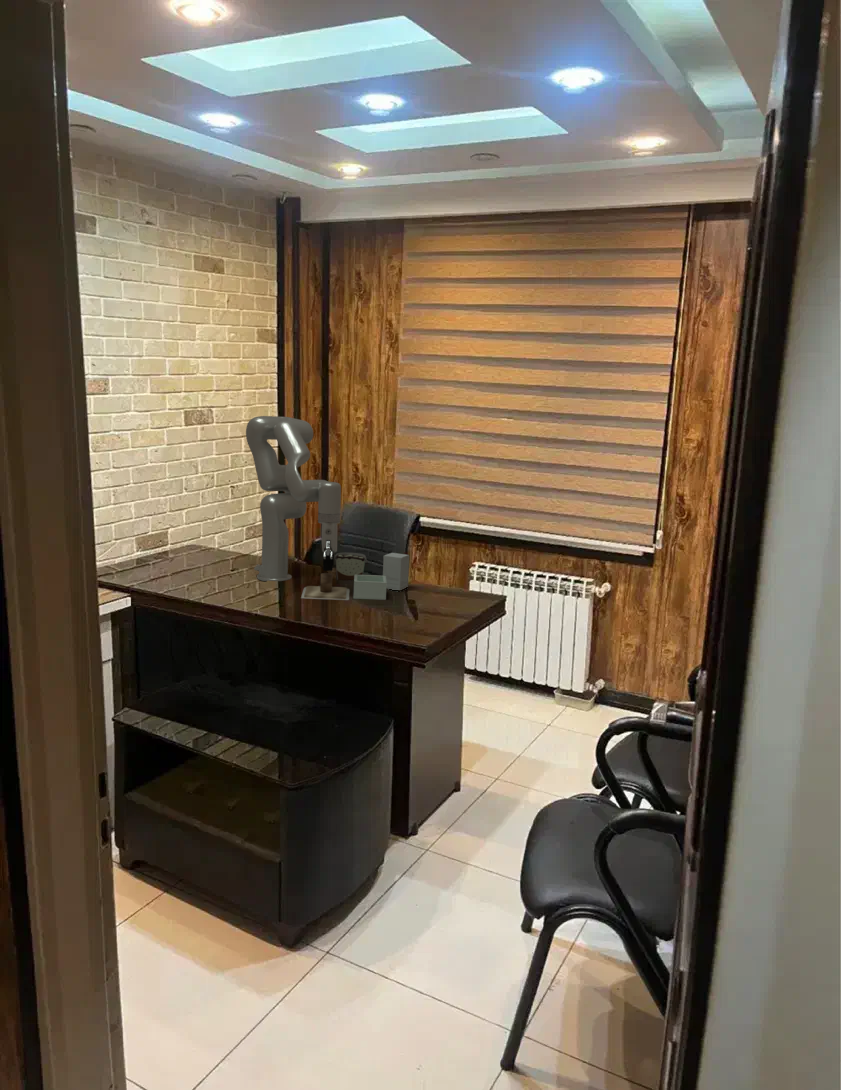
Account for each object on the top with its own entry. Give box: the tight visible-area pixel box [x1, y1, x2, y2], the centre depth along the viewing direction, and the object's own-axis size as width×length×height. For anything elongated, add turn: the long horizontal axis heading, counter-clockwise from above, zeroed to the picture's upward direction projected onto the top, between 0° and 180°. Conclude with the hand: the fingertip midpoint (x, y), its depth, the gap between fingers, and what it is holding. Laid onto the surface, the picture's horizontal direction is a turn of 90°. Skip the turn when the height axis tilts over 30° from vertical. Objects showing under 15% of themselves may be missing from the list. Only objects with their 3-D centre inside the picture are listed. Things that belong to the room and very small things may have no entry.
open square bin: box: [352, 574, 387, 601], centre depth 283 cm, size 11×11×6 cm
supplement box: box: [382, 552, 410, 591], centre depth 297 cm, size 7×7×13 cm
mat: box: [300, 586, 350, 601], centre depth 282 cm, size 16×16×1 cm
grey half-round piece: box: [334, 552, 367, 581], centre depth 307 cm, size 12×6×10 cm, turn 84°
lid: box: [303, 572, 348, 600], centre depth 282 cm, size 14×14×7 cm
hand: (328, 567), depth 280 cm, fingers open, 9 cm apart
